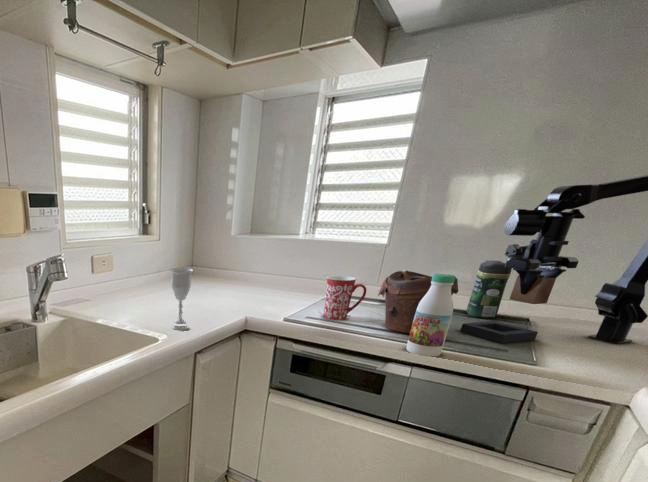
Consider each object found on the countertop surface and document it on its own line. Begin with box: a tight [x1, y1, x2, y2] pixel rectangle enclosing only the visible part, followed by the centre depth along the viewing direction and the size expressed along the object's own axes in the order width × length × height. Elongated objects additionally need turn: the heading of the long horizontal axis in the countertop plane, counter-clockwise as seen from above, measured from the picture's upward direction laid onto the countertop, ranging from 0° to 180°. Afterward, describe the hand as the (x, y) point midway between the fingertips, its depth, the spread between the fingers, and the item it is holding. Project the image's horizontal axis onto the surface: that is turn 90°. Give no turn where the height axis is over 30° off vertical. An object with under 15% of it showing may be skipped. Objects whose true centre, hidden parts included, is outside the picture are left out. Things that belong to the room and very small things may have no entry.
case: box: [377, 269, 459, 335], centre depth 122 cm, size 18×20×18 cm
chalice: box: [169, 267, 194, 331], centre depth 124 cm, size 7×7×18 cm
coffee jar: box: [466, 260, 513, 320], centre depth 136 cm, size 10×8×19 cm
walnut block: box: [508, 274, 557, 305], centre depth 115 cm, size 5×6×8 cm
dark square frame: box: [459, 320, 539, 344], centre depth 118 cm, size 12×12×2 cm
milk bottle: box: [406, 273, 456, 358], centre depth 101 cm, size 8×8×20 cm
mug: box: [323, 275, 367, 321], centre depth 135 cm, size 13×9×14 cm
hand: (530, 293), depth 115 cm, fingers closed on walnut block, 5 cm apart
